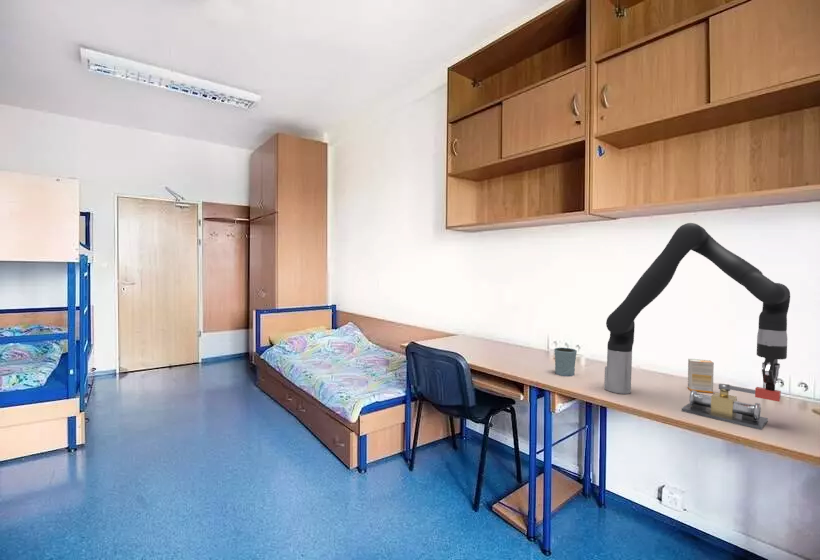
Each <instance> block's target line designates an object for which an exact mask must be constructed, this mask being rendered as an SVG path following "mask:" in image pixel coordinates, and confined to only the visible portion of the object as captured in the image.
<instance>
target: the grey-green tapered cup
mask: <svg viewBox="0 0 820 560" xmlns="http://www.w3.org/2000/svg"><path fill="white" fill-rule="evenodd" d="M553 351H554V365H555V366H554V370H555V371H554V373H555V374H556V375H558V376H561V377H573V376H575V370H576V368H575V367H576V359H577V350H576V349H574V348H569V347H556V348H554V349H553Z"/></svg>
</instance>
